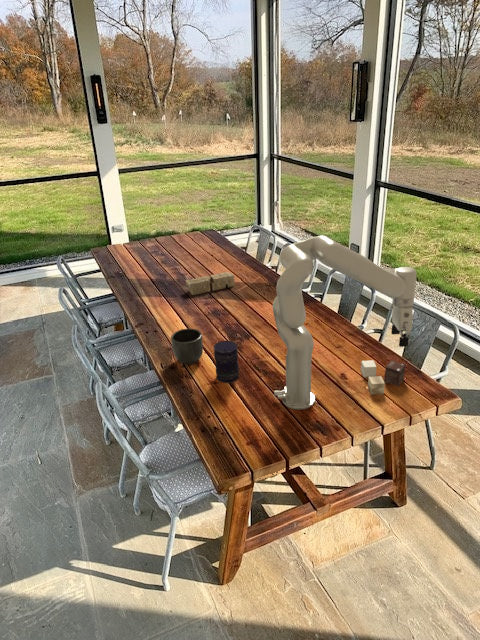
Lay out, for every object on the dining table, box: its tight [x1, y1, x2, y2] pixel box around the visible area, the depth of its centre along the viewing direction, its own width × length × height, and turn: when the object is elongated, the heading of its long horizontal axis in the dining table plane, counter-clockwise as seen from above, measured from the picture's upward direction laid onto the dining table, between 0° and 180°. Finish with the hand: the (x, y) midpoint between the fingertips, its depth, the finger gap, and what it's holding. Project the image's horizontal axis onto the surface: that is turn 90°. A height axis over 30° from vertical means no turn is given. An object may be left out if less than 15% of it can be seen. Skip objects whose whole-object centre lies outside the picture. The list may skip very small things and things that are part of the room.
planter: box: [170, 328, 204, 366], centre depth 209 cm, size 14×14×13 cm
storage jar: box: [213, 340, 240, 384], centre depth 195 cm, size 10×10×15 cm
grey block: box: [360, 359, 377, 378], centre depth 193 cm, size 5×5×5 cm
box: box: [383, 360, 406, 387], centre depth 187 cm, size 6×6×7 cm
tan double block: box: [185, 271, 235, 296], centre depth 285 cm, size 8×8×29 cm
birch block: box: [367, 375, 386, 395], centre depth 182 cm, size 5×5×5 cm
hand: (399, 339), depth 180 cm, fingers open, 9 cm apart
